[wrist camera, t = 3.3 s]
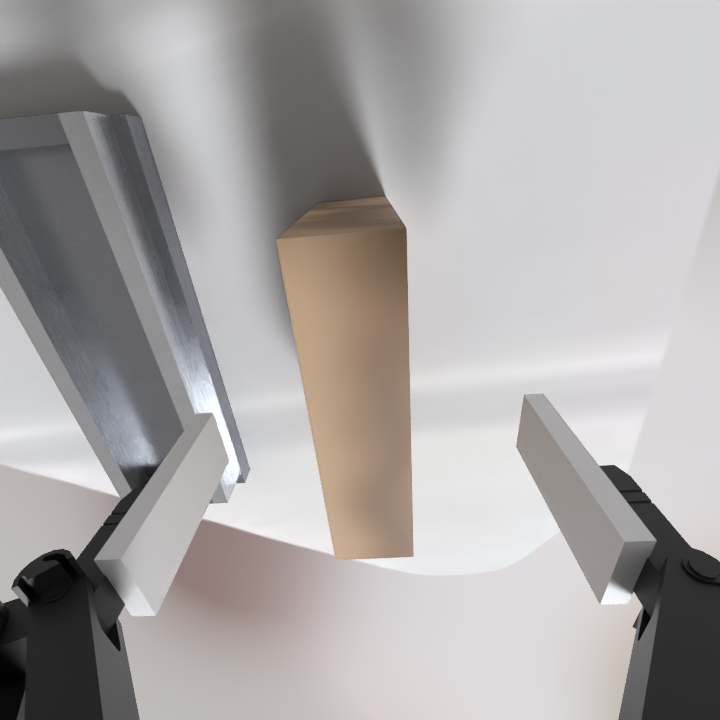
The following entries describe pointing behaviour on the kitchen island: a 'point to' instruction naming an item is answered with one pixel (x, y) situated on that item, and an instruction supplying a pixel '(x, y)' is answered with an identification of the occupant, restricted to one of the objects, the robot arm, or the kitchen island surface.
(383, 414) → the door panel
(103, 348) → the door track
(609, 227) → the kitchen island surface
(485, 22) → the kitchen island surface
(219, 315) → the kitchen island surface
